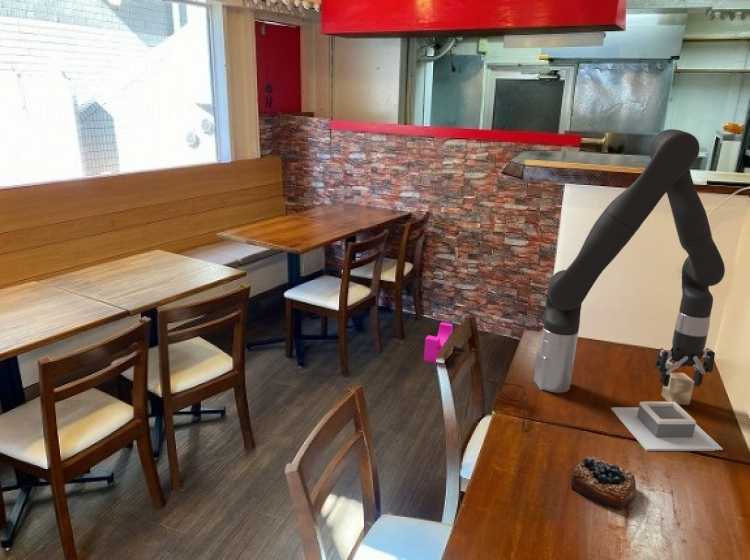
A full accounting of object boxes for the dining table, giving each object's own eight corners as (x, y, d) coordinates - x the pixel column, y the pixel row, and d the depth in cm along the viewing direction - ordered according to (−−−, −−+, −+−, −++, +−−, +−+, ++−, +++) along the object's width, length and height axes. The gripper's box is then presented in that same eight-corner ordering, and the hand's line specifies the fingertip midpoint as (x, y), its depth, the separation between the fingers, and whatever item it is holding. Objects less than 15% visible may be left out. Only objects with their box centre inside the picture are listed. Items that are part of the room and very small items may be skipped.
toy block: (443, 365, 165) (444, 342, 163) (423, 360, 168) (425, 338, 165) (458, 347, 178) (460, 325, 176) (440, 343, 181) (441, 322, 178)
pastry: (582, 464, 120) (586, 442, 119) (640, 489, 113) (645, 465, 111) (564, 490, 112) (567, 466, 110) (624, 517, 105) (630, 492, 103)
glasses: (524, 401, 146) (526, 385, 144) (522, 436, 132) (524, 419, 130) (470, 392, 149) (471, 377, 147) (463, 426, 136) (465, 409, 134)
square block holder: (646, 450, 126) (650, 432, 124) (611, 409, 143) (614, 392, 141) (722, 450, 126) (727, 432, 125) (678, 409, 144) (682, 392, 142)
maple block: (671, 404, 146) (676, 381, 144) (661, 395, 151) (665, 372, 149) (689, 405, 146) (694, 381, 144) (678, 395, 151) (683, 372, 149)
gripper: (672, 335, 138) (661, 392, 143) (727, 335, 138) (714, 392, 143) (656, 324, 145) (647, 378, 150) (709, 324, 146) (697, 378, 150)
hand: (680, 385), depth 147 cm, fingers open, 8 cm apart
